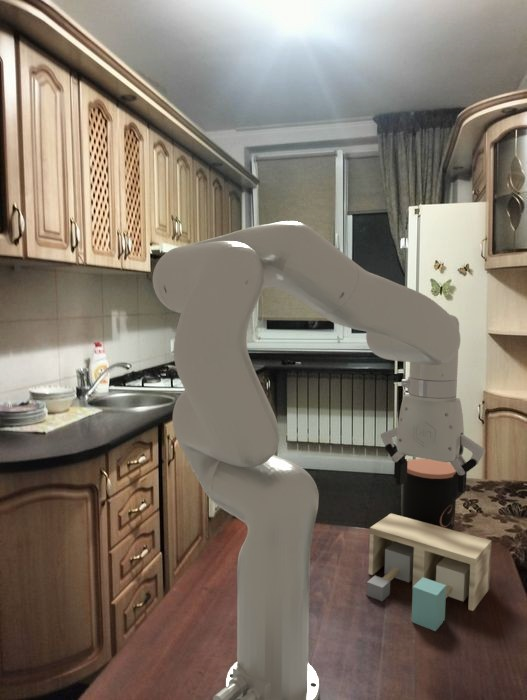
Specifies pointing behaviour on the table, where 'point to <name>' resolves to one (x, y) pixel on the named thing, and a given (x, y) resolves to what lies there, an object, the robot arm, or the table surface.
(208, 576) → the table surface
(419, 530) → the birch shelf
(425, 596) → the teal and white dumbbell
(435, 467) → the coffee jar
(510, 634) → the table surface
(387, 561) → the grey block
